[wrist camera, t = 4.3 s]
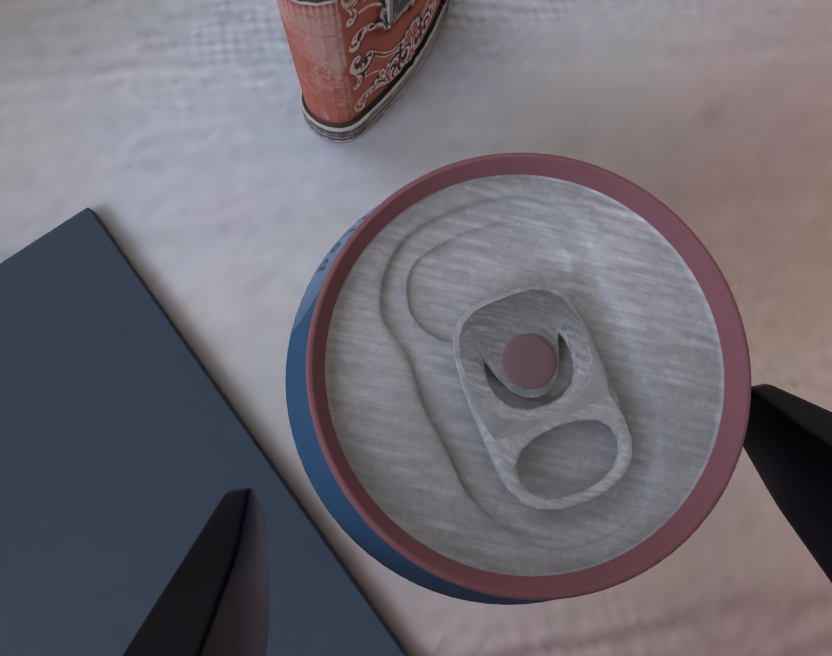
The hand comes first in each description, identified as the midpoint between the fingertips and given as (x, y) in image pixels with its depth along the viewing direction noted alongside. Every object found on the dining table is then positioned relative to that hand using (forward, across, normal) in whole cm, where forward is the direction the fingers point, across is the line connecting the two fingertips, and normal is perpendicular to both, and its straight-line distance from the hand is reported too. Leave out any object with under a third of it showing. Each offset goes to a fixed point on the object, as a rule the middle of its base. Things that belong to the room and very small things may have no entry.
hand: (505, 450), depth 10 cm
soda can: (+7, 0, +6) cm, 9 cm away
